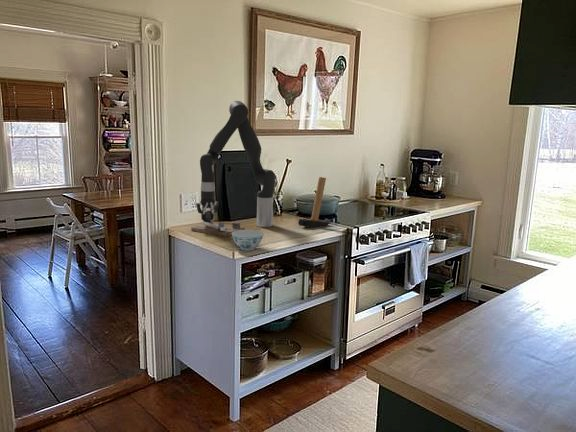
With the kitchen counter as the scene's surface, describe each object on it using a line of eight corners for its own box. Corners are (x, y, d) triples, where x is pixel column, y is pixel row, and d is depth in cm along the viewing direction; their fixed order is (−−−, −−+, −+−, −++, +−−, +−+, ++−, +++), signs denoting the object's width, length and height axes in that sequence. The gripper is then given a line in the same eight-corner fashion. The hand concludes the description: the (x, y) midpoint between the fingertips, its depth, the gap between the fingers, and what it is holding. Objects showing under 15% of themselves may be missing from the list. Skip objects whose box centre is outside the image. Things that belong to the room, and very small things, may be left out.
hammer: (324, 228, 277) (333, 179, 275) (329, 229, 273) (338, 180, 271) (297, 225, 266) (307, 174, 264) (302, 226, 262) (312, 175, 259)
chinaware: (243, 243, 227) (243, 228, 226) (269, 247, 220) (269, 232, 219) (225, 249, 214) (225, 234, 213) (252, 254, 207) (252, 238, 206)
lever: (226, 230, 243) (226, 215, 241) (219, 231, 241) (219, 216, 239) (208, 224, 258) (208, 210, 256) (202, 224, 255) (202, 210, 254)
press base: (211, 225, 265) (211, 217, 265) (244, 231, 254) (244, 222, 253) (191, 230, 251) (191, 221, 250) (225, 236, 239) (225, 227, 238)
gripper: (198, 191, 244) (198, 222, 247) (222, 190, 252) (222, 220, 255) (192, 189, 250) (192, 220, 253) (216, 188, 258) (215, 218, 261)
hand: (207, 220), depth 254 cm, fingers closed on lever, 4 cm apart
